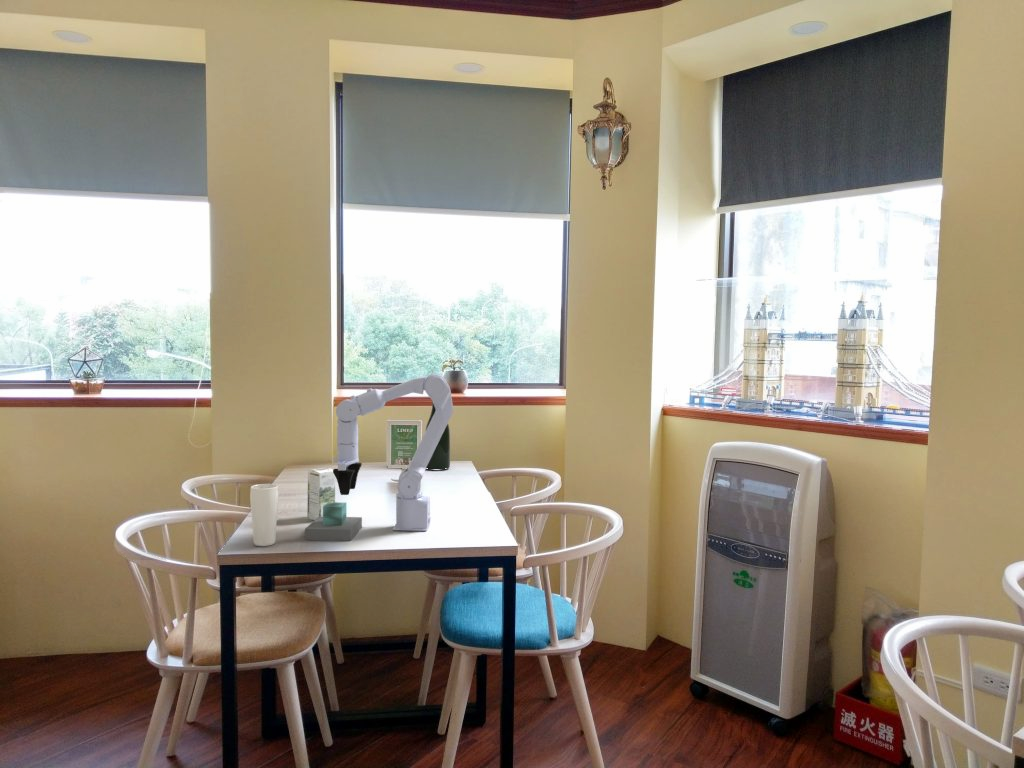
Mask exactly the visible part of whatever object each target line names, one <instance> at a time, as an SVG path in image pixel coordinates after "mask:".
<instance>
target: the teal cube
mask: <svg viewBox="0 0 1024 768" xmlns="http://www.w3.org/2000/svg"><path fill="white" fill-rule="evenodd" d="M346 517H347V502H338V501H337V502H336V501H335V502H328V503H327V504H326V505H324V506H323V525H343V524H344V523H345V522H346Z"/></svg>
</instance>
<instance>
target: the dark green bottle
mask: <svg viewBox="0 0 1024 768" xmlns="http://www.w3.org/2000/svg"><path fill="white" fill-rule="evenodd" d="M431 403H432V406H431V411H430V412H431V413H430V415H429V418H428V420H427V423H426V426H425V431H424V433H425V432H426V430H427V428H428V426H429V424H430V421H431V419H432V417H433V415H434V413H435V411H436V409H435V406H434V404H433V402H431ZM450 433H451V431H450V425H449V423H448V424H447V426H446V428H445V430H444V432H443V434H442V436H441V438H440V440H439V442H438V444H437V446H436V448H435V450H434V453H433V455H432V457H431V459H430V461H429V463H428V465H427V467H426V468H428V469H445V468H449V467H450V468H451V434H450ZM450 468H449V469H450Z"/></svg>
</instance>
